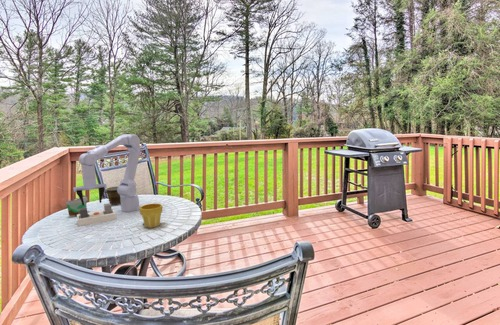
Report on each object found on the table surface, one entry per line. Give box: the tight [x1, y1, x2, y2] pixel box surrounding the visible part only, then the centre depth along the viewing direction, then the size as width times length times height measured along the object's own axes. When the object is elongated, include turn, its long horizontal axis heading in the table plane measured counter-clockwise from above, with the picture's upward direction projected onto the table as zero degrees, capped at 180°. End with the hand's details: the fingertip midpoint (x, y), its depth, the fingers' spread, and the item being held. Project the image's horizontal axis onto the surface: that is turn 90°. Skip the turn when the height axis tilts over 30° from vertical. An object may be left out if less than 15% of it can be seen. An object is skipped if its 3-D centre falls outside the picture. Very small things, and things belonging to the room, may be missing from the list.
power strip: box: [76, 208, 117, 227], centre depth 148 cm, size 17×10×5 cm, turn 122°
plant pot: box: [139, 202, 163, 228], centre depth 141 cm, size 10×10×10 cm
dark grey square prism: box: [80, 207, 88, 218], centre depth 145 cm, size 3×4×7 cm
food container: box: [65, 194, 89, 218], centre depth 158 cm, size 12×6×10 cm, turn 168°
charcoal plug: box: [103, 202, 113, 214], centre depth 151 cm, size 3×4×7 cm
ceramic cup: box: [102, 186, 121, 206], centre depth 178 cm, size 13×10×10 cm
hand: (91, 203), depth 146 cm, fingers open, 7 cm apart
